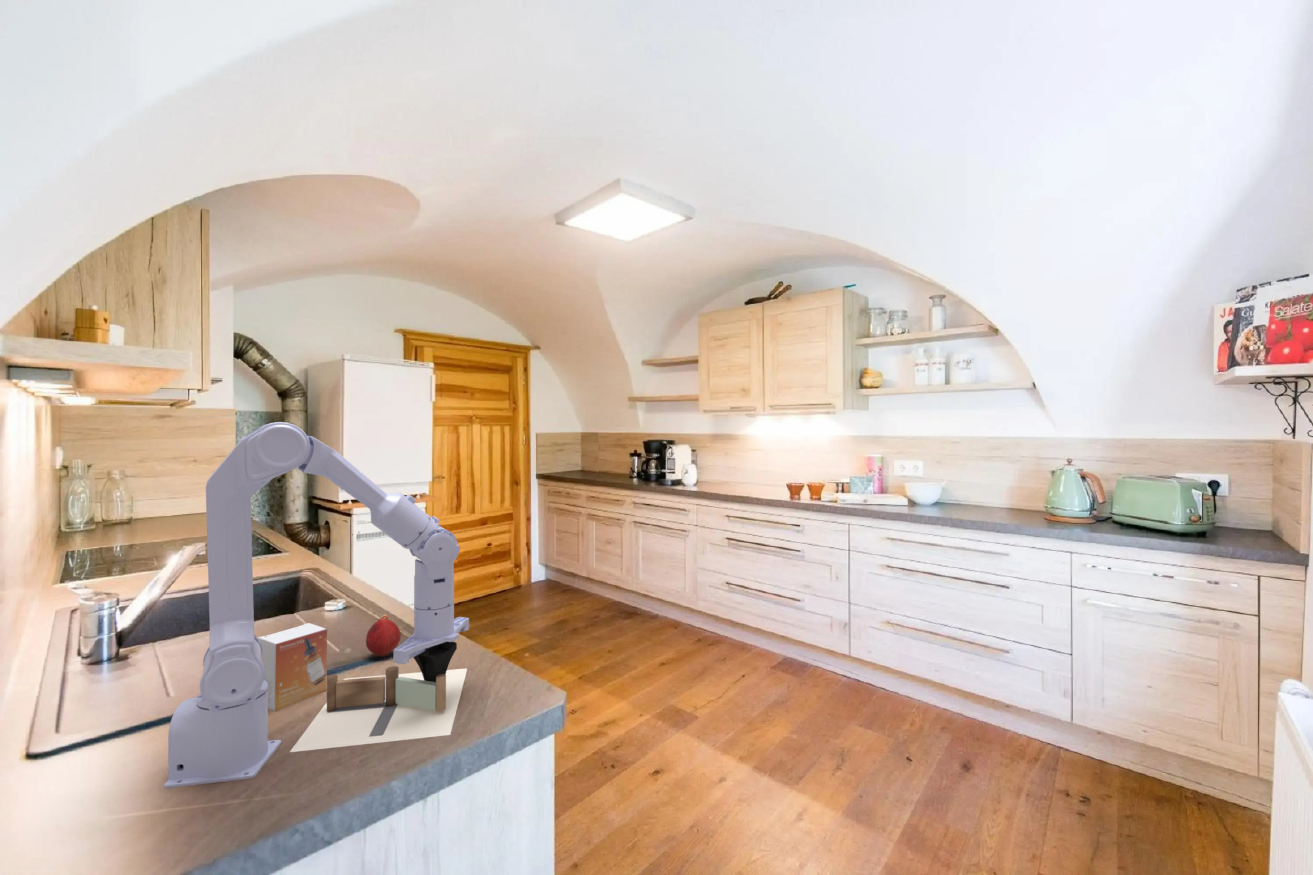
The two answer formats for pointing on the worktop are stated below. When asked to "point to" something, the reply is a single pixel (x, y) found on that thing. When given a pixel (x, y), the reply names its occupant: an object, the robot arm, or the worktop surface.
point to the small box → (294, 664)
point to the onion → (383, 637)
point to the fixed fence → (362, 690)
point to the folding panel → (422, 693)
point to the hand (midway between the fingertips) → (434, 691)
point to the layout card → (382, 720)
